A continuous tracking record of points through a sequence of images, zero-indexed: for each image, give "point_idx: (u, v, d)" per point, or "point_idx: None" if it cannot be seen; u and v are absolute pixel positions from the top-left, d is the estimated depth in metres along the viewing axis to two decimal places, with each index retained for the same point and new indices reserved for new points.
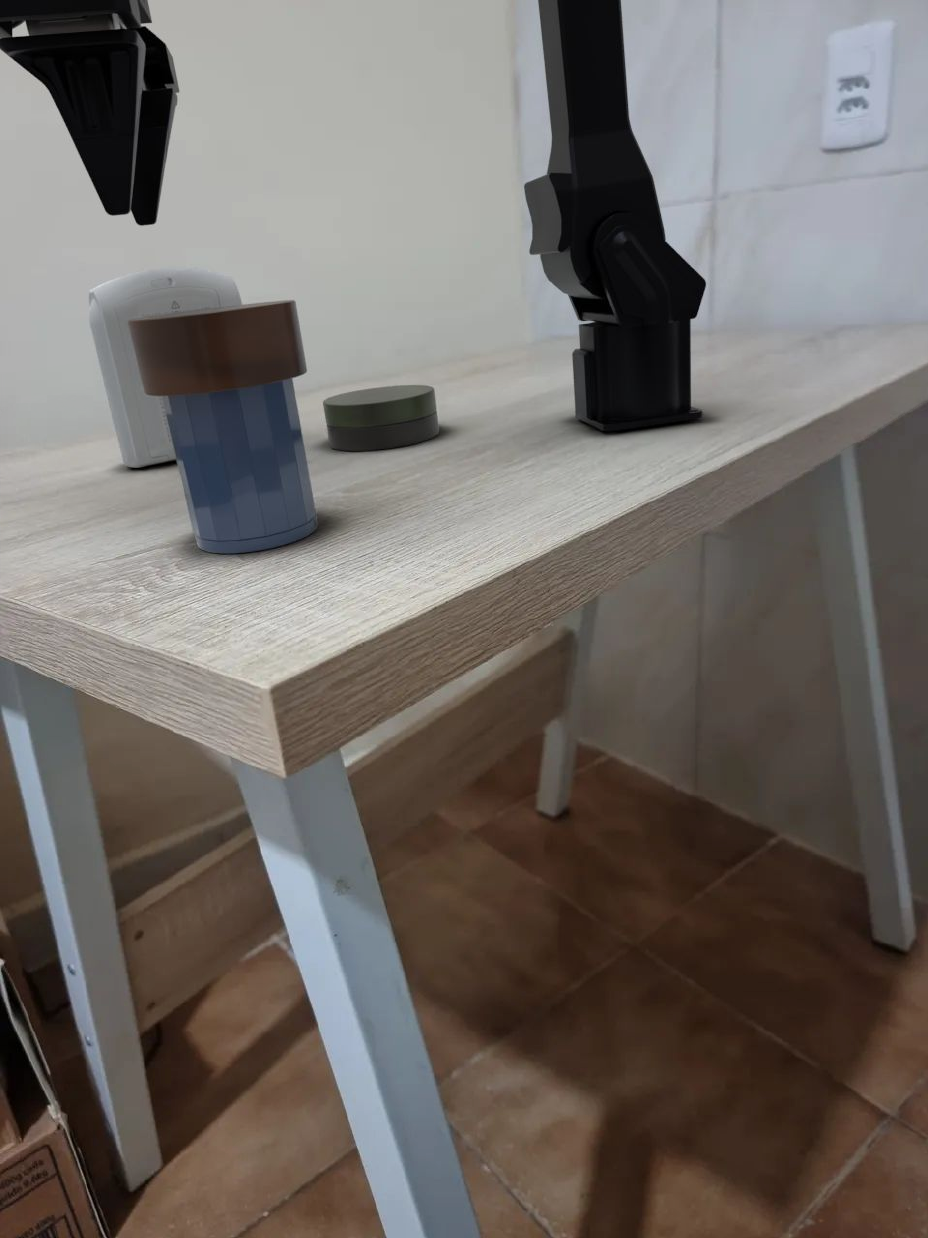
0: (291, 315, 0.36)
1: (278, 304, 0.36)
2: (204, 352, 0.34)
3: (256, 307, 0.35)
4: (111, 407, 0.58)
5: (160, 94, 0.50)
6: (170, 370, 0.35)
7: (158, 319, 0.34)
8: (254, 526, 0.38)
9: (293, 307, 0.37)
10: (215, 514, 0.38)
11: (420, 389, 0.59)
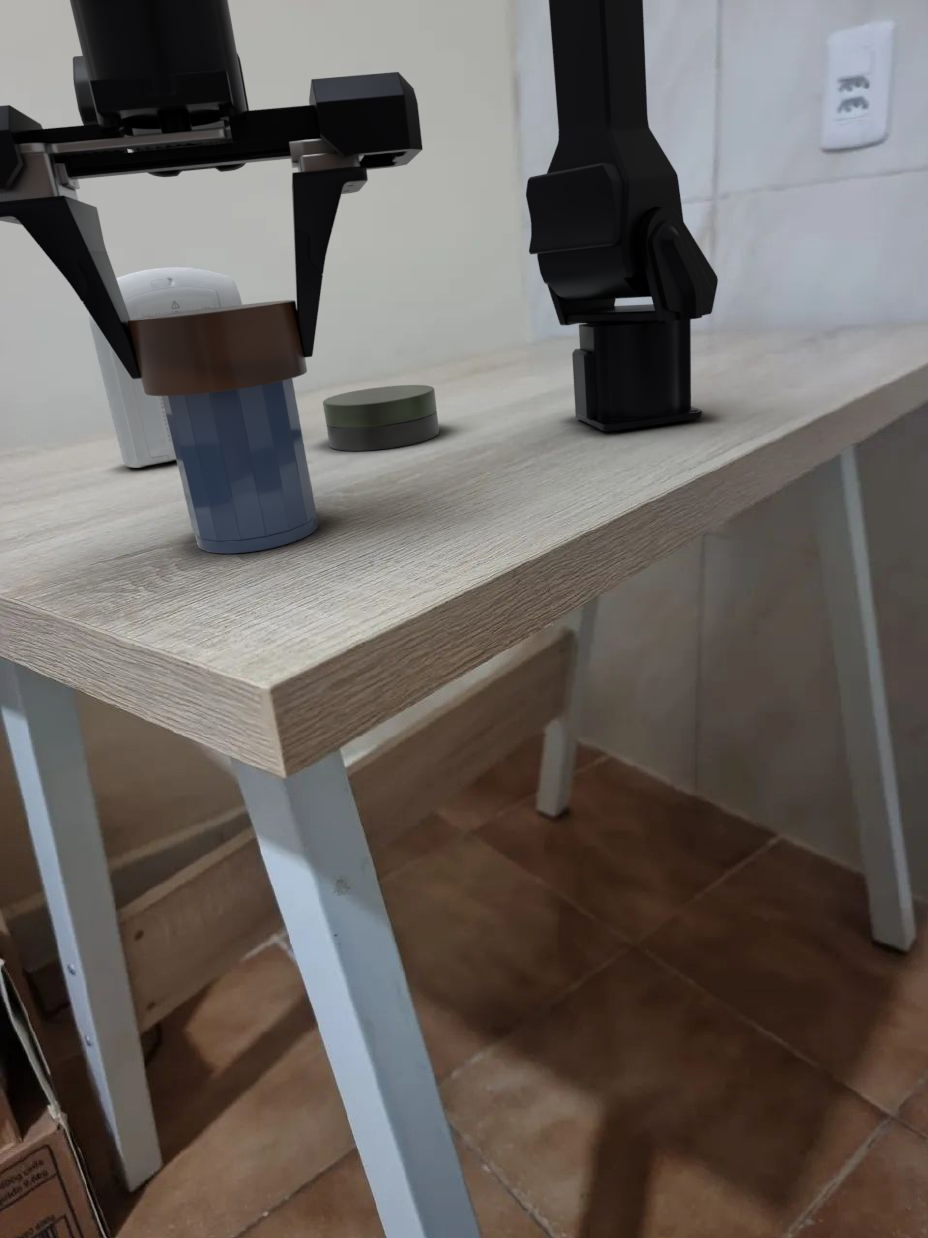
0: (291, 315, 0.36)
1: (278, 304, 0.36)
2: (204, 352, 0.34)
3: (256, 307, 0.35)
4: (111, 407, 0.58)
5: None
6: (170, 370, 0.35)
7: (158, 319, 0.34)
8: (254, 526, 0.38)
9: (293, 307, 0.37)
10: (215, 514, 0.38)
11: (420, 389, 0.59)
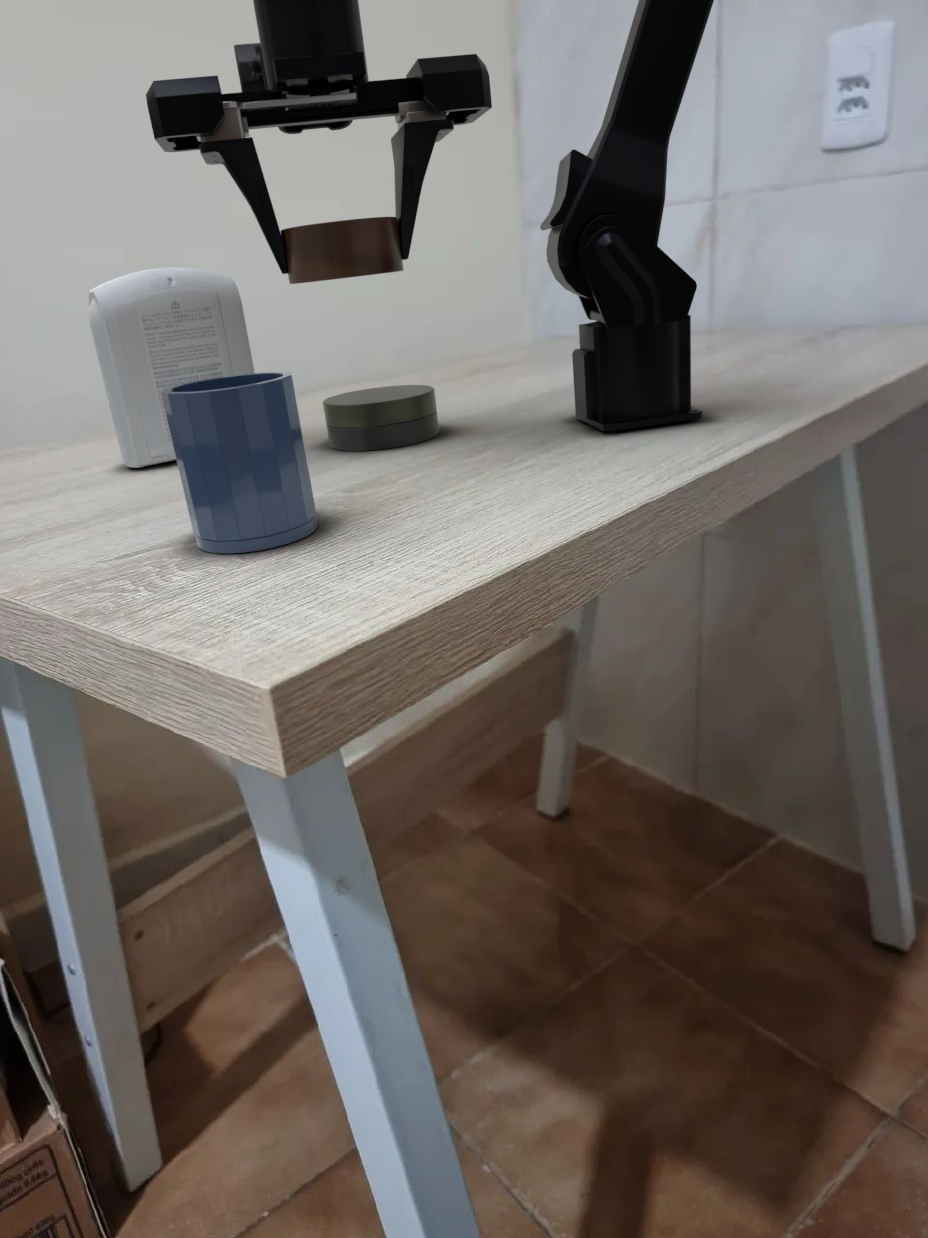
0: (396, 226, 0.52)
1: (389, 217, 0.51)
2: (341, 248, 0.50)
3: (376, 217, 0.50)
4: (111, 407, 0.58)
5: (402, 130, 0.49)
6: (316, 262, 0.50)
7: (310, 225, 0.49)
8: (254, 526, 0.38)
9: (397, 221, 0.52)
10: (215, 514, 0.38)
11: (420, 389, 0.59)
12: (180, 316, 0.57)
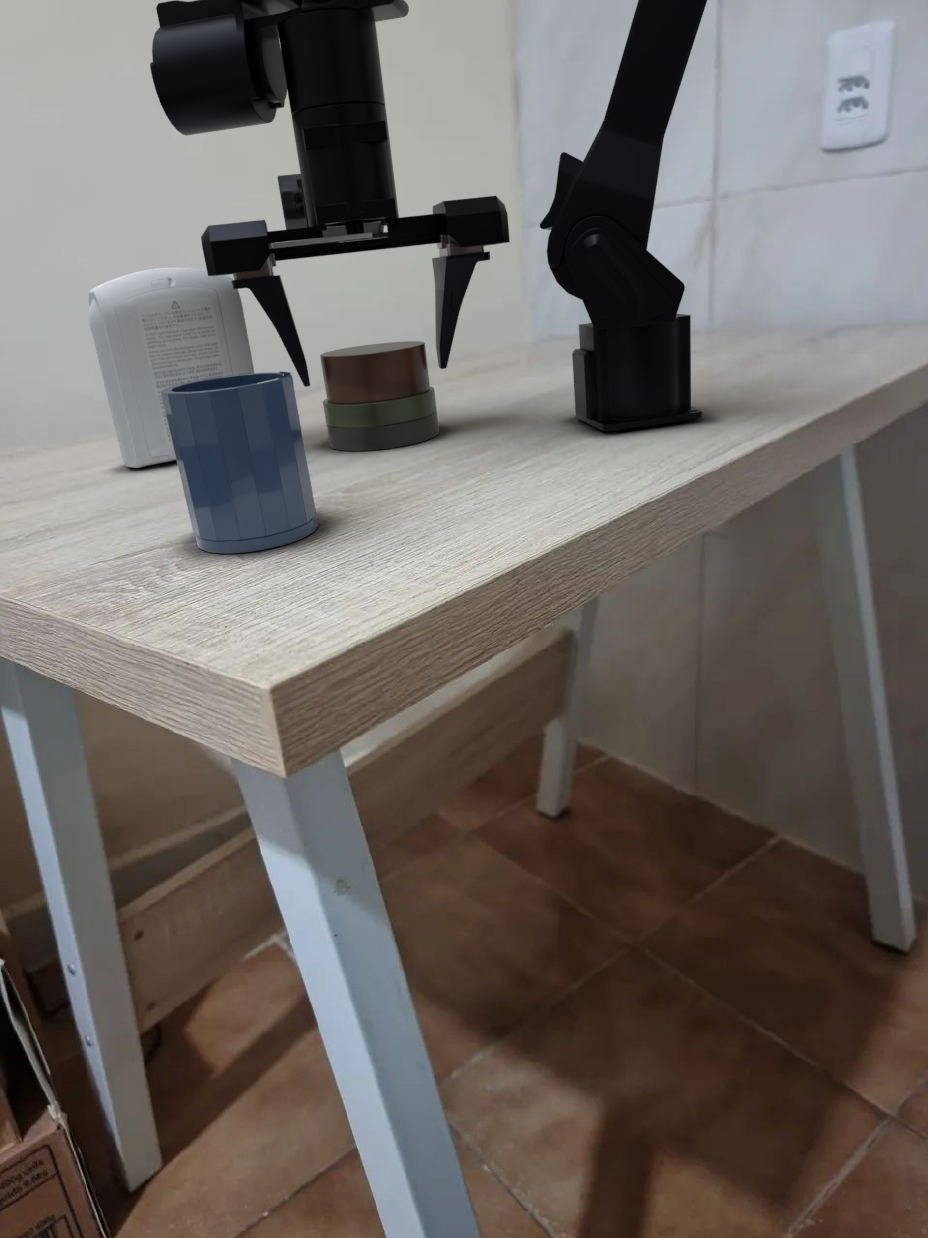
0: (424, 352, 0.57)
1: (418, 346, 0.56)
2: (374, 376, 0.55)
3: (406, 348, 0.56)
4: (111, 407, 0.58)
5: (444, 261, 0.55)
6: (352, 387, 0.56)
7: (347, 356, 0.55)
8: (254, 526, 0.38)
9: (424, 347, 0.58)
10: (215, 514, 0.38)
11: None
12: (180, 316, 0.57)
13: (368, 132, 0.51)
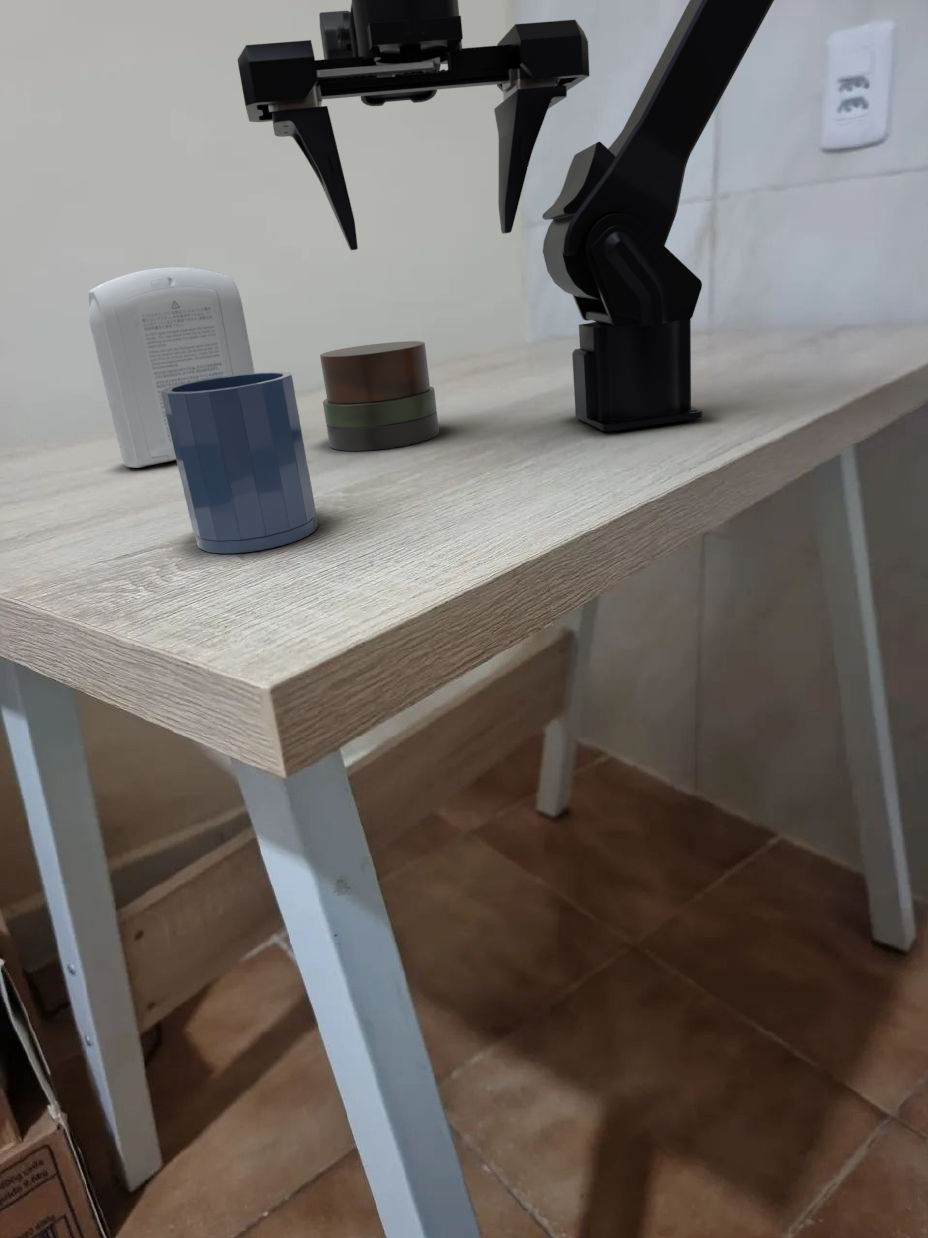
0: (424, 352, 0.57)
1: (418, 346, 0.56)
2: (374, 376, 0.55)
3: (406, 348, 0.56)
4: (111, 407, 0.58)
5: (514, 97, 0.48)
6: (352, 387, 0.56)
7: (347, 356, 0.55)
8: (254, 526, 0.38)
9: (424, 347, 0.58)
10: (215, 514, 0.38)
11: None
12: (180, 316, 0.57)
13: None
